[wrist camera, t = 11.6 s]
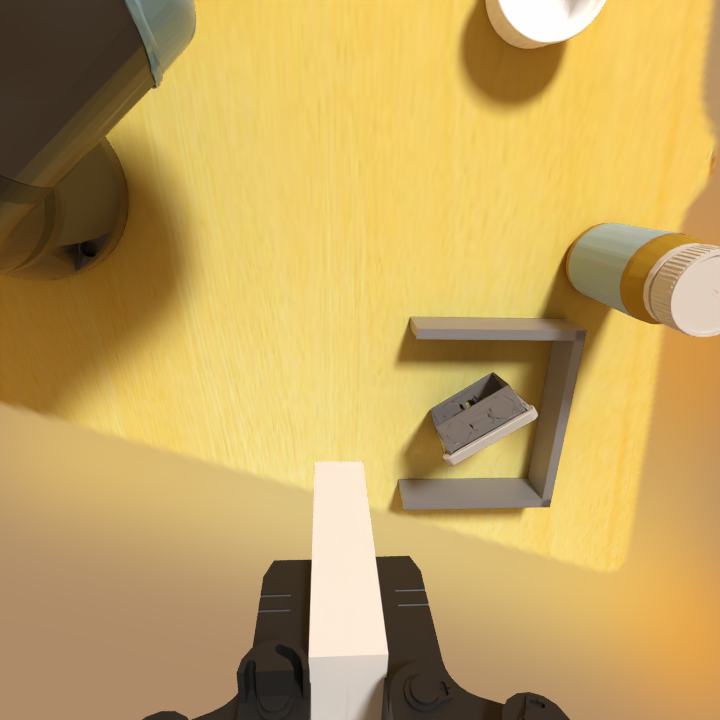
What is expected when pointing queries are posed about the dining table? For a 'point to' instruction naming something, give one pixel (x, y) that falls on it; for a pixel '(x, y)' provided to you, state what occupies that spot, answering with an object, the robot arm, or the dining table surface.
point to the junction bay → (550, 420)
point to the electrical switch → (479, 418)
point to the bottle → (649, 275)
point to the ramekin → (541, 20)
